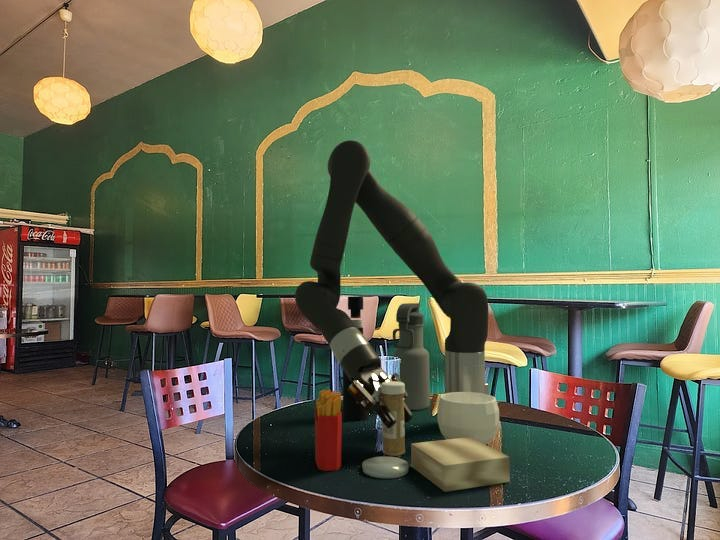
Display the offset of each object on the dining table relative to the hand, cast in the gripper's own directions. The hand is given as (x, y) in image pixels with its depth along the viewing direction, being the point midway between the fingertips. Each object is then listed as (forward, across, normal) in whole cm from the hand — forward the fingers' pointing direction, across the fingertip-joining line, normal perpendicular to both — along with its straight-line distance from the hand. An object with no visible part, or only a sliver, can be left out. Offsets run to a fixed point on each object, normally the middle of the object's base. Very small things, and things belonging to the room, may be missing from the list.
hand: (400, 422), depth 94 cm
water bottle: (-11, +34, +20) cm, 41 cm away
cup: (+9, +14, 0) cm, 16 cm away
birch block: (+14, -1, -5) cm, 15 cm away
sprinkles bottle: (+3, 0, +6) cm, 7 cm away
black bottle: (-14, +15, +23) cm, 30 cm away
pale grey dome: (+6, -8, +2) cm, 11 cm away
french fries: (0, -13, +9) cm, 16 cm away
